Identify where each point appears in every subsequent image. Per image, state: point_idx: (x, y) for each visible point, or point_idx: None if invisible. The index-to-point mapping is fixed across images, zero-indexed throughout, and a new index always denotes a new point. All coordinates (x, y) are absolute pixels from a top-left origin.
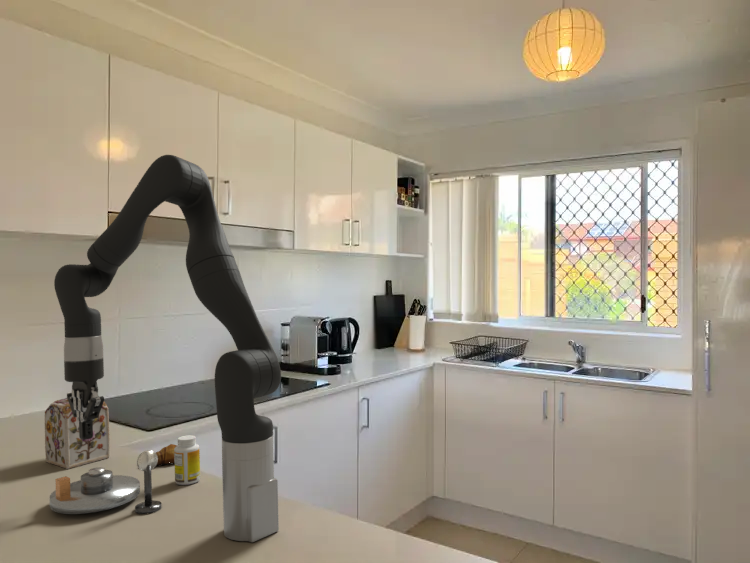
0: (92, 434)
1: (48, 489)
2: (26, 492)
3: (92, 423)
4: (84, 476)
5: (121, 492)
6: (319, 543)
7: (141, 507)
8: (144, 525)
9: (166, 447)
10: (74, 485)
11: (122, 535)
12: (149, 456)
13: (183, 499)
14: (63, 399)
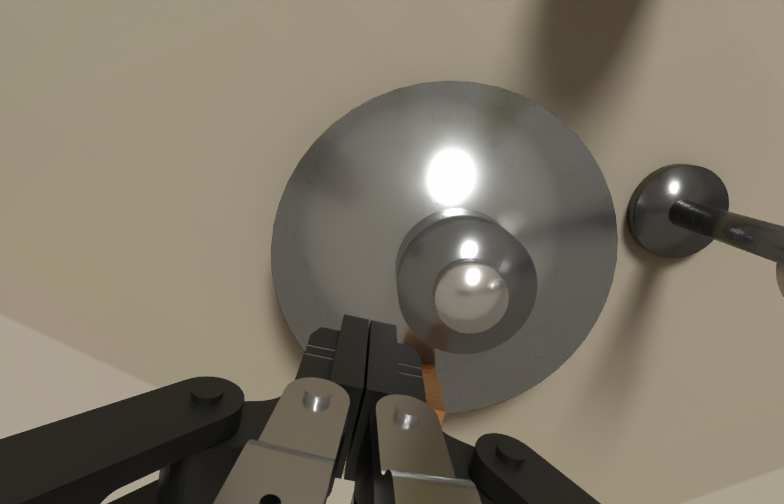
0: (395, 333)
1: (108, 223)
2: (64, 280)
3: (397, 379)
4: (436, 331)
5: (582, 249)
6: None
7: (671, 239)
8: (748, 309)
9: None
10: (316, 272)
11: (727, 381)
12: None
13: (747, 77)
14: None
